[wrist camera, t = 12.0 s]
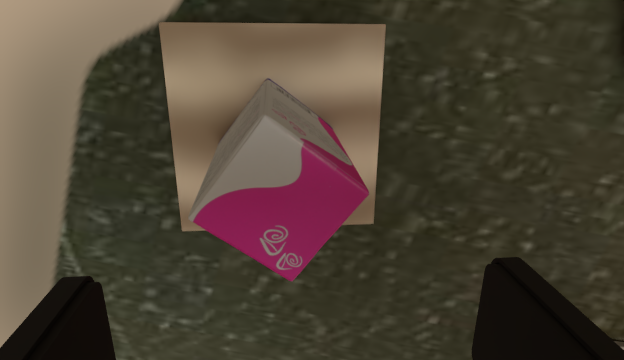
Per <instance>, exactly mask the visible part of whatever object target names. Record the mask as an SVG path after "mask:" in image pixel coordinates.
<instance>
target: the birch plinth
mask: <svg viewBox="0 0 624 360" xmlns="http://www.w3.org/2000/svg"><path fill="white" fill-rule="evenodd" d="M159 29H160V38H161V47H162V56H163V65H164V74H165V83H166V92H167V101H168V110H169V119H170V128H171V136H172V145H173V154H174V163H175V172H176V181H177V190H178V199H179V208H180V217H181V226H182V231H202V230H205V229H203V228H201V227H200V226H198V225H197V224H195V223H194V222H192V221H190V220H189V219H188V216H189V213H190V211H191V208H192V206H193V204H194V201H195V199H196V196H197V194H198V192H199V190H200V187H201V185H202V182H203V180H204V178H205V175H206V173H207V171H208V168H209V166H210V163H211V161H212V159H213V156H214V154H215V151H216V149H217V146H218V143H219V142H220V140H221V139H222V137H223V136H224V135H225V133H226V132H227V131H228V129H229V128H230V127H231V125H232V124H233V123H234V121H235V120H236V119H237V117H238V116H239V115H240V113H241V112H242V110H243V109H244V108H245V106H246V105H247V104H248V102H249V101H250V100H251V98H252V97H253V96H254V95H255V93H256V92H257V91H258V89H259V88H260V87H261V85H262V84H263V83H264V81H265V80H266V79H267V78H269V79H271V80H272V81H273V82H275V83H276V84H277V85H279V86H280V87H282V88H283V89H284V90H286V91H287V92H288V93H289V94H291V95H292V96H293V97H295V98H296V99H297V100H299V101H300V102H301V103H302V104H304V105H305V106H306V107H308V108H309V109H310V110H311V111H313V112H314V113H315V114H317V115H318V116H319V117H320V118H321V119H323V120H324V121H325V122H326V123H328V124H329V125H330V126H331V127H332V128H333V131H334V132H335V134H336V136H337V137H338V139H339V141H340V143H341V144H342V146H343V148H344V149H345V151H346V153H347V155H348V156H349V158H350V160H351V161H352V163H353V165H354V167H355V168H356V170H357V171H358V173H359V175H360V177H361V178H362V180H363V182H364V184H365V185H366V187H367V189H368V191H369V193H370V194H369V195H368V196H367V197H366V198H365V200H364V201H363V202H362V203H361V204H360V205H359V206H358V207H357V208H356V210H355V211H354V212H353V213H352V214H351V215H350V216H349V217H348V218H347V220H346V221H345V222H344V223H343V224H342V225H355V224H373V223H374V206H375V190H376V174H377V158H378V142H379V126H380V110H381V94H382V77H383V61H384V45H385V29H386V24H300V23H184V22H159Z"/></svg>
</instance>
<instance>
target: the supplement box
mask: <svg viewBox="0 0 624 360" xmlns="http://www.w3.org/2000/svg"><path fill="white" fill-rule="evenodd" d="M369 194H370V193H369V191H368V189H367V187H366V185H365V184H364V182H363V180H362V178H361V177H360V175H359V173H358V171H357V170H356V168H355V167H354V165H353V163H352V161H351V160H350V158H349V156H348V155H347V153H346V151H345V149H344V148H343V146H342V144H341V143H340V141H339V139H338V137H337V136H336V134H335V132H334V131H333V128H332V127H331V126H330V125H329V124H328V123H326V122H325V121H324V120H323V119H321V118H320V117H319V116H318V115H317V114H315V113H314V112H313V111H311V110H310V109H309V108H308V107H306V106H305V105H304V104H302V103H301V102H300V101H299V100H297V99H296V98H295V97H293V96H292V95H291V94H289V93H288V92H287V91H286V90H284V89H283V88H282V87H280V86H279V85H277V84H276V83H275V82H273V81H272V80H271V79H269V78H267V79H266V80H265V81H264V83H263V84H262V85H261V87H260V88H259V89H258V91H257V92H256V93H255V95H254V96H253V97H252V98H251V100H250V101H249V102H248V104H247V105H246V106H245V108H244V109H243V110H242V112H241V113H240V115H239V116H238V117H237V119H236V120H235V121H234V123H233V124H232V125H231V127H230V128H229V129H228V131H227V132H226V133H225V135H224V136H223V137H222V139H221V140H220V142H219V143H218V146H217V149H216V151H215V154H214V156H213V159H212V161H211V163H210V166H209V168H208V171H207V173H206V175H205V178H204V180H203V182H202V185H201V187H200V190H199V192H198V194H197V196H196V199H195V201H194V204H193V206H192V208H191V211H190V213H189V216H188V219H189V220H190V221H192V222H194V223H195V224H197V225H198V226H200V227H201V228H203V229H205V230H207V231H208V232H210V233H212V234H213V235H215V236H217V237H218V238H220V239H222V240H223V241H225V242H226V243H228V244H230V245H231V246H233V247H235V248H236V249H238V250H240V251H241V252H243V253H245V254H246V255H248V256H250V257H252V258H253V259H254V260H256V261H258V262H260V263H261V264H263V265H265V266H266V267H268V268H269V269H271V270H273V271H274V272H276V273H278V274H279V275H281V276H283V277H284V278H286V279H288V280H289V281H293V280H294V279H295V278H296V277H297V276H298V274H299V273H300V272H301V271H302V270H303V269H304V268H305V266H306V265H307V264H308V263H309V262H310V260H311V259H312V258H313V257H314V256H315V254H316V253H317V252H318V251H319V250H320V248H321V247H322V246H323V245H324V244H325V243H326V242H327V241H328V240H329V238H330V237H331V236H332V235H333V234H334V233H335V232H336V231H337V230H338V228H339V227H340V226H341V225H342V224H343V223H344V222H345V221H346V220H347V218H348V217H349V216H350V215H351V214H352V213H353V212H354V211H355V210H356V208H357V207H358V206H359V205H360V204H361V203H362V202H363V201H364V200H365V198H366V197H367V196H368V195H369Z"/></svg>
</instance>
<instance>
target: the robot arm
mask: <svg viewBox="0 0 624 360" xmlns="http://www.w3.org/2000/svg"><path fill="white" fill-rule="evenodd" d="M472 358H473V360H624V342H619V341H613V340H612V339H611V338H610V337H609V336H607V335H606V334H605V333H604V332H603V331H602V330H601V329H600V328H598V327H597V326H596V325H595V324H594V323H593V322H592V321H591V320H589V319H588V318H587V317H586V316H585V315H584V314H583V313H582V312H581V311H579V310H578V309H577V308H576V307H575V306H574V305H573V304H572V303H570V302H569V301H568V300H567V299H566V298H565V297H564V296H563V295H561V294H560V293H559V292H558V291H557V290H556V289H555V288H554V287H552V286H551V285H550V284H549V283H548V282H547V281H546V280H545V279H543V278H542V277H541V276H540V275H539V274H538V273H537V272H536V271H534V270H533V269H532V268H531V267H530V266H529V265H528V264H527V263H525V262H524V261H523V260H522V259H520V258H519V257H510V258H495V259H493V261H492V262H491V264H488V265H487V266H486V268H485V273H484V279H483V285H482V291H481V297H480V303H479V309H478V315H477V321H476V327H475V333H474V339H473V345H472ZM0 360H116V358H115V352H114V347H113V342H112V337H111V331H110V326H109V321H108V316H107V310H106V305H105V300H104V295H103V289H102V286H101V284H100V283H99V282H94V280H93V278H92V277H90V276H81V277H64V278H62V279H60V280H59V281H58V282H57V284H56V285H55V286H54V287H53V288H52V289H51V290H50V292H49V293H48V294H47V295H46V296H45V297H44V298H43V300H42V301H41V302H40V303H39V304H38V305H37V307H36V308H35V309H34V310H33V311H32V312H31V313H30V314H29V316H28V317H27V318H26V319H25V320H24V321H23V323H22V324H21V325H20V326H19V327H18V328H17V329H16V331H15V332H14V333H13V334H12V335H11V336H10V337H9V339H8V340H7V341H6V342H5V343H4V344H3V346H2V347H1V348H0Z"/></svg>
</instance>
